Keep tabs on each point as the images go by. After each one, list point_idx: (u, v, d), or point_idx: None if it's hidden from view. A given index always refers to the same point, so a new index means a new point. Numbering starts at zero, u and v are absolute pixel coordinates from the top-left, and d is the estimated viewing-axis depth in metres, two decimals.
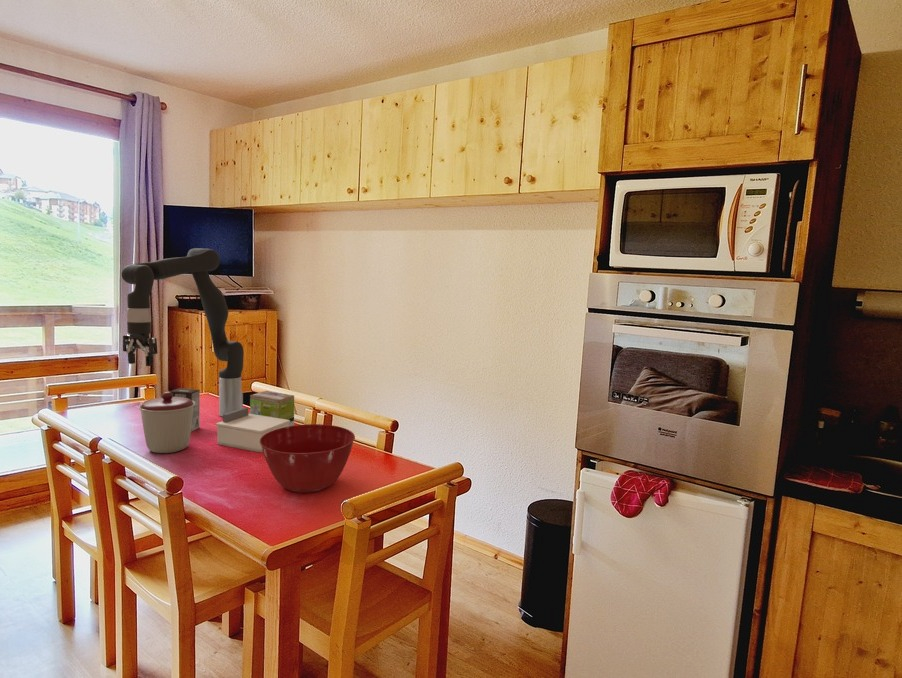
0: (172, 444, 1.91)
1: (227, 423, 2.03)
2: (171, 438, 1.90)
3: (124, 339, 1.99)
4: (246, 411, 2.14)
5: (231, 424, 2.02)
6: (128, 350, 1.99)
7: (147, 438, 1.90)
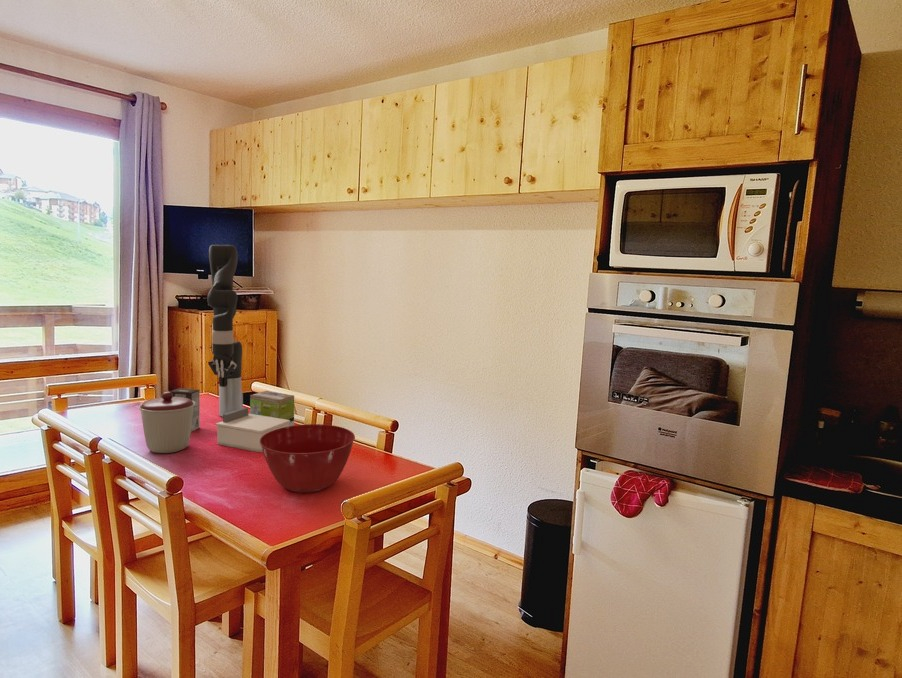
0: (172, 444, 1.91)
1: (227, 423, 2.03)
2: (171, 438, 1.90)
3: (210, 364, 2.10)
4: (246, 411, 2.14)
5: (231, 424, 2.02)
6: (220, 374, 2.09)
7: (147, 438, 1.90)
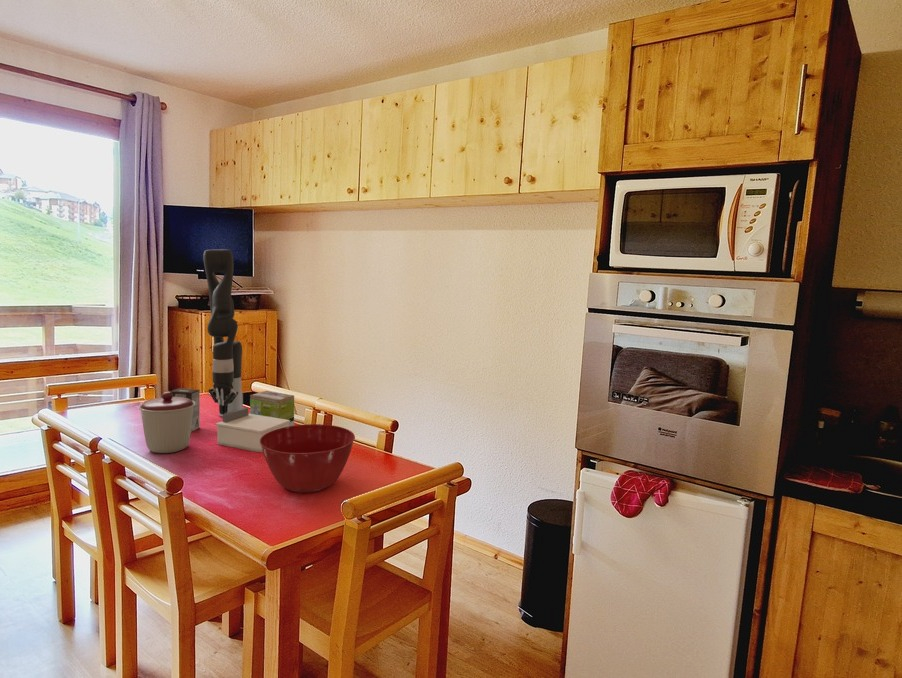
0: (172, 444, 1.91)
1: (227, 423, 2.03)
2: (171, 438, 1.90)
3: (211, 392, 2.12)
4: (246, 411, 2.14)
5: (231, 424, 2.02)
6: (220, 401, 2.10)
7: (147, 438, 1.90)
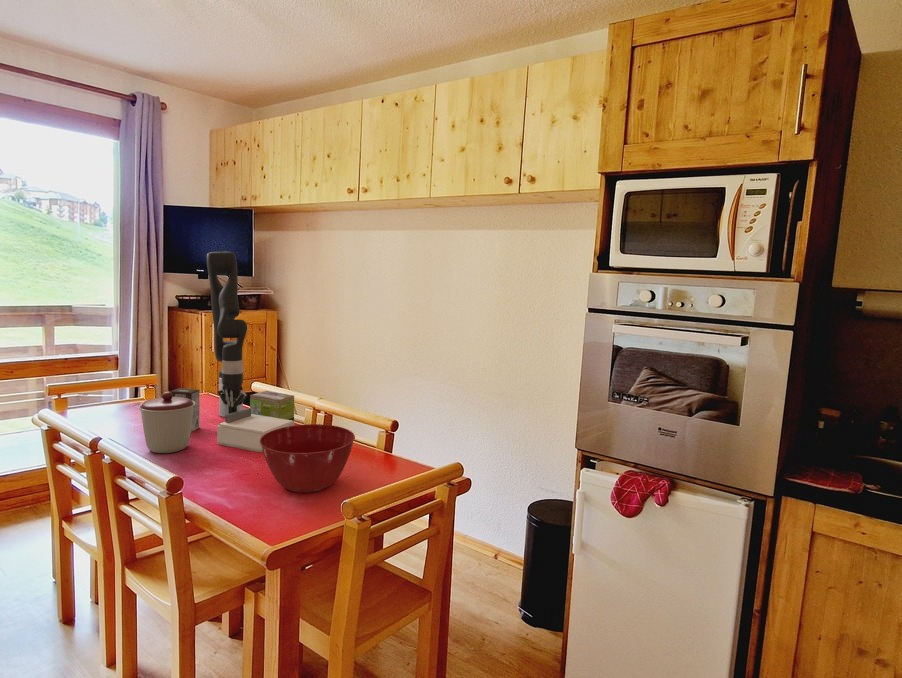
0: (172, 444, 1.91)
1: (230, 423, 2.03)
2: (171, 438, 1.90)
3: (220, 394, 2.10)
4: (249, 411, 2.14)
5: (234, 424, 2.02)
6: (229, 403, 2.09)
7: (147, 438, 1.90)
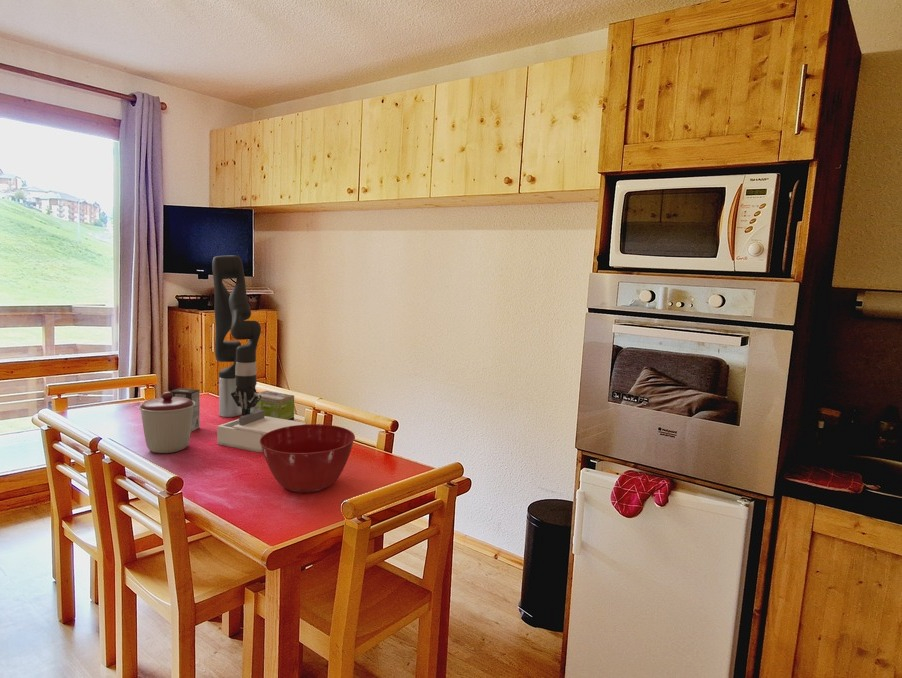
0: (172, 444, 1.91)
1: (244, 426, 2.01)
2: (171, 438, 1.90)
3: (233, 396, 2.08)
4: (262, 414, 2.12)
5: (248, 427, 2.00)
6: (243, 405, 2.06)
7: (147, 438, 1.90)
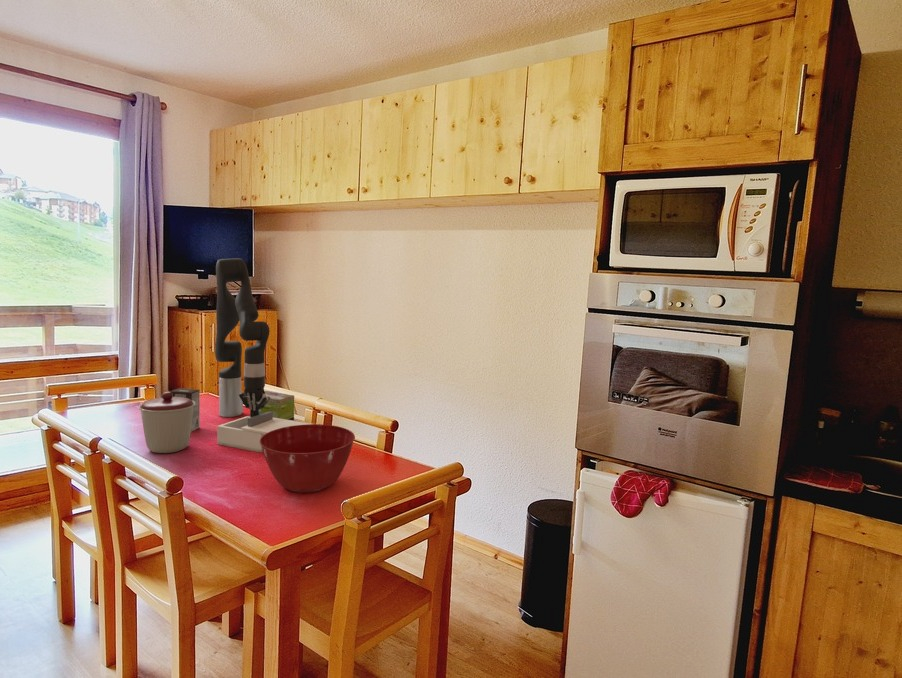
0: (172, 444, 1.91)
1: (252, 427, 1.99)
2: (171, 438, 1.90)
3: (241, 397, 2.06)
4: (270, 415, 2.10)
5: (257, 428, 1.98)
6: (251, 407, 2.05)
7: (147, 438, 1.90)
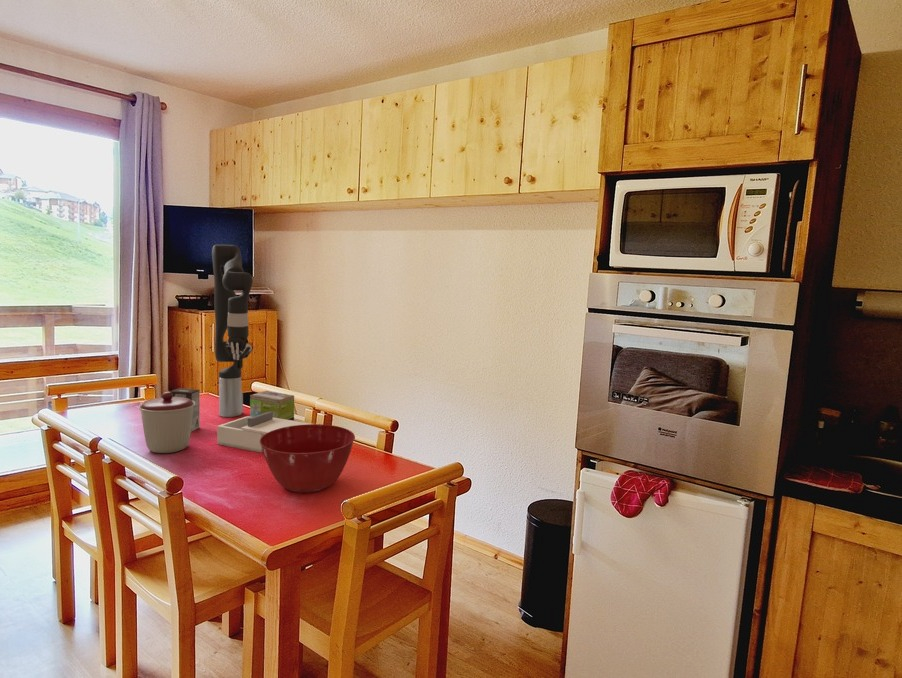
0: (172, 444, 1.91)
1: (252, 427, 1.99)
2: (171, 438, 1.90)
3: (225, 347, 2.10)
4: (270, 415, 2.10)
5: (257, 428, 1.98)
6: (235, 356, 2.09)
7: (147, 438, 1.90)
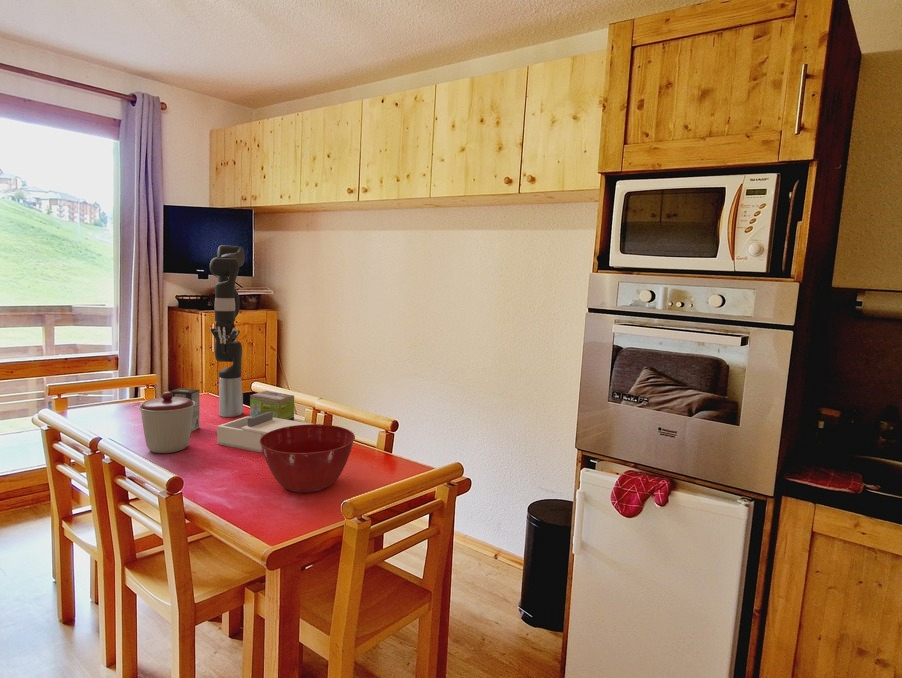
0: (172, 444, 1.91)
1: (252, 427, 1.99)
2: (171, 438, 1.90)
3: (213, 331, 2.16)
4: (270, 415, 2.10)
5: (257, 428, 1.98)
6: (222, 340, 2.15)
7: (147, 438, 1.90)
